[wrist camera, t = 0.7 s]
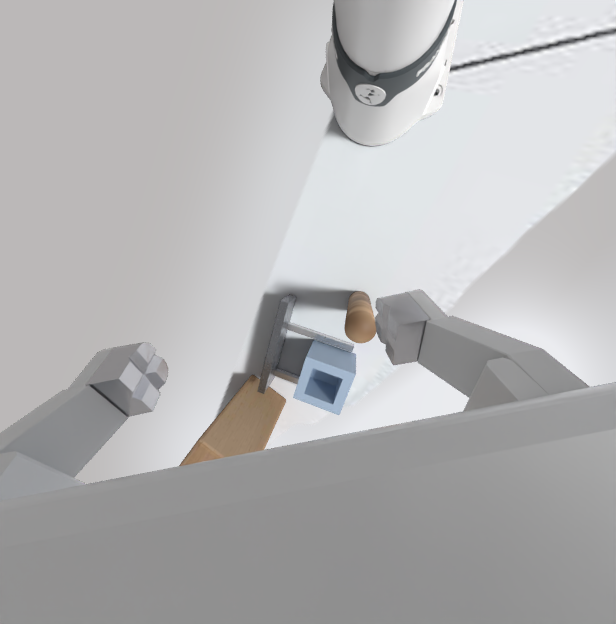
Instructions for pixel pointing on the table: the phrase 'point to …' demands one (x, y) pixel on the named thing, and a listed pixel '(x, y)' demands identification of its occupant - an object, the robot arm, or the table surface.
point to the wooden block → (239, 425)
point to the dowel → (360, 318)
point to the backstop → (278, 339)
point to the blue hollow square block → (326, 377)
